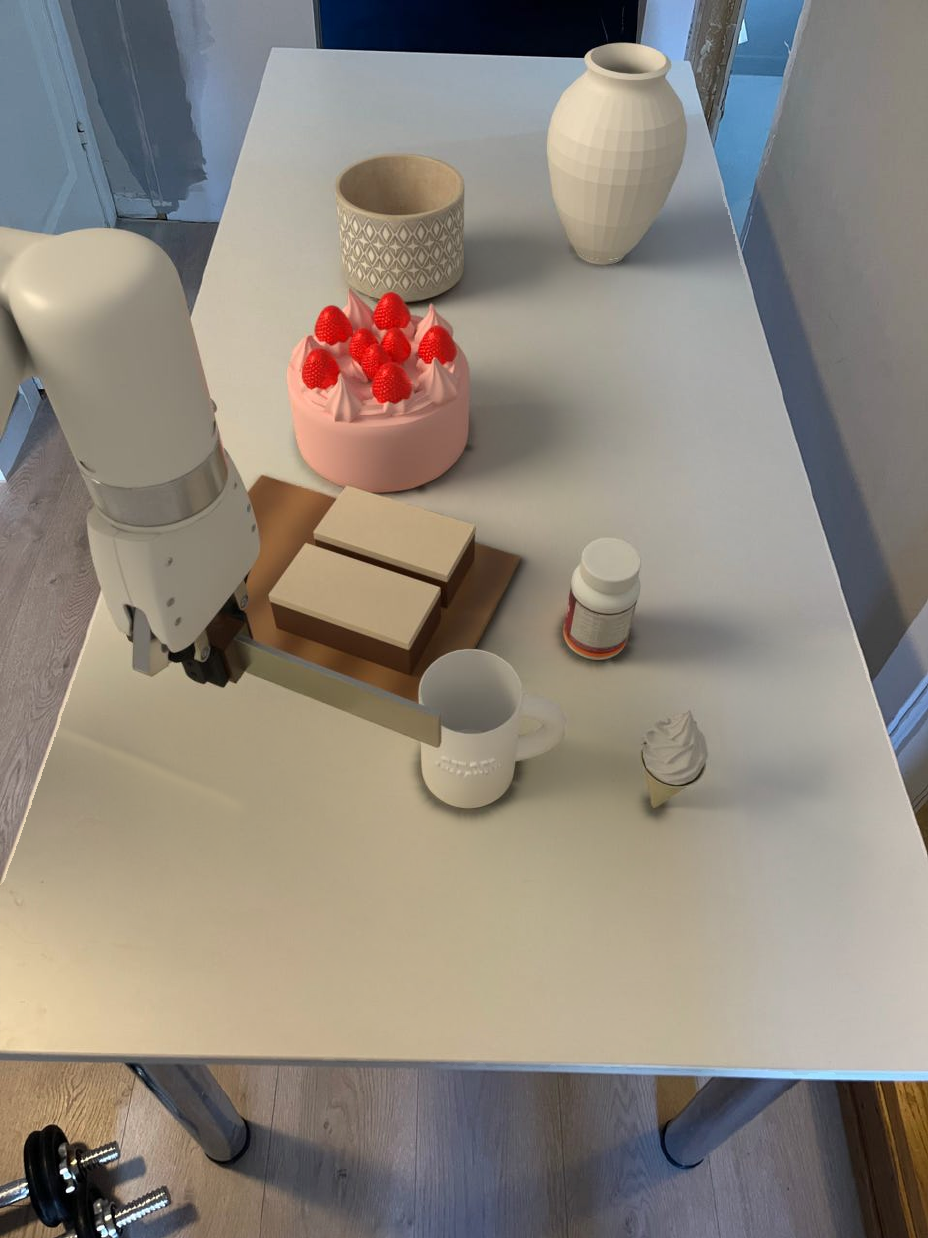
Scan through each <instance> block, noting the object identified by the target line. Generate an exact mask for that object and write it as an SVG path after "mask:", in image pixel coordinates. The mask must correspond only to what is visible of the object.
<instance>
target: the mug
mask: <svg viewBox="0 0 928 1238" xmlns="http://www.w3.org/2000/svg"><path fill="white" fill-rule="evenodd" d="M418 697H419V704H421V705H424V706H426V707H429V708H432V709H434V710H437V711H439V712H441V737H442V742H441V745H440V747H439V748H436V747H433V746H431V745H428V744H426V743H423V742H421V741H420V761H421V763H420V764H421V773H422V777H423V780H424V782H425V783H424V784H425V785H426V786H427V788H428V789H429V791H430V792H431V793H432V794H433V796H435V797H436V798H437V799H439V800H440V801H442V802H443V803H445V804H446V805H447V804H448V805H450V806H452V807H456V808H460V809H461V808H462V809H477V808H481V807H485V806H487V805H490V804H492V803H493V802H495V801H496V800H498V799H500V798H501V797H502V796H503V795H504V794H505V793H506V791H507V790H508V789H509V788H510V786H511V783H512V781H513V779H514V775H515V768H516V762H521V761H526V760H528V759H532V758H535V757H537V756H541V755H542V754H544V753H547V752H548V751H550V750H551V749H553V748H554V747H555V746H556V745H557V744H559V742H560V741H561V740H562V738H564V736H565V733H566V730H567V717H566V715H565V713H564V711H563V709H562V708H561V706H559V704H557V703H556V702H554V701H553V700H552V699H549V698H547V697H544V696H542V695H539V694H535V693H529V692H524V688H523V684H522V680H521V679H520V676H519V675H518V673H517V672H516V670H515V669H514V667H512V665H511V664H510V663H509V662H507V661H506V660H505V659H503V658H502V657H501V656H498V655H497V654H495V653H492V652H490V651H487V650H481V649H478V648H477V649H476V648H475V649H464V650H457V651H454V652H451V653H448V654H446V655H444V656H442V657H440V658H439V659H437V660H436V661H435V662H433V663H432V664H431V665H430V667H429V668H428V669H427V670H426V671H425V673H424V675H423V676H422V678H421V681H420V685H419V692H418ZM522 718H523V719H524V718H525V719H531V720H534V721H535V720H536V721H538V722H541V723H542V725H541V726H540V727H538V728H537V729H536V730H534V731H532V732H530V733H527V734H524V735H521V736H519V735H520V729H521V728H520V727H521V726H520V725H521V719H522Z"/></svg>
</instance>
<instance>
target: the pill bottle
mask: <svg viewBox="0 0 928 1238" xmlns="http://www.w3.org/2000/svg"><path fill="white" fill-rule="evenodd" d="M641 567H642V558H641V555H640V553H639V552H638V549H636V548H635V547H634V546H633V545H632V544H630V543H629V542H628V541H626V540H623V539H620V538H617V537H600V538H597V539H595V540H592V541H590V542H589V543H587V545H586V546H585V547H584V549H583V551H582V553H581V558H580V563H579V565H577V567H576V568H575V569H574V571H573V573H572V577H571V581H570V586H569V587H570V589H569V594H568V600H567V606H566V611H565V616H564V617H565V618H564V624H563V637H564V640H565V642H566V644H567V645H568V647H569V649H571V651H573V652H574V653H575V654H577V655H578V656H580V657H583V658H586V659H589V660H594V661H603V660H608V659H610V658H613V657H615V656H617V655H619V653H620V652H622V650H623V649H624V647H625V646H626V644H627V641H628V638H629V634H630V629H631V626H632V622H633V618H634V615H635V611H636V607H637V605H638V604H637V603H638V601H639V597H640V593H641V579H640V577H639V576H640V570H641Z"/></svg>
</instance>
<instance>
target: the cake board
mask: <svg viewBox="0 0 928 1238" xmlns="http://www.w3.org/2000/svg"><path fill="white" fill-rule="evenodd" d="M247 493H248V496H249V499H250V502H251V505H252V508H253V511H254V515H255V519H256V522H257V527H258V531H259V533H260V535H261V539H260V553H259V556H258V558H257V560H256V562H255V564H254V565H253V567H252V568H251V571H250V573H249V575H248V579H247V583H246V588H247V591H248V593H249V603H248V605H247V607H246V608H245V609H244V612H245V613H246V614H247V618H248V621H249V625H250V628H251V632H252V635H253V639H254V640H255V641H258V642H260V643H263V644H265V645H268V646H271V647H273V648H276V649H278V650H281V651H284V652H286V653H289V654H291V655H294V656H297V657H299V658H302V659H304V660H307V661H310V662H312V663H315V664H317V665H320V666H323V667H325V668H328V669H330V670H333V671H335V672H338V673H341V674H343V675H346V676H348V677H351V678H354V679H356V680H359V681H361V682H364V683H367V684H369V685H372V686H374V687H377V688H380V689H382V690H385V691H387V692H390V693H393V694H395V695H398V696H400V697H403V698H406V699H408V700H411V701H413V702H416V703H419V697H418V692H419V685H420V681H421V678H422V676H423V675H424V673H425V671H426V670H427V669H428V668H429V667H430V665H431V664H432V663H433V662H435V661H436V660H437V659H439V658H440V657H442V656H444V655H446V654H448V653H451V652H454V651H457V650H464V649H476V648H477V646H478V644H479V642H480V640H481V638H482V637H483V634H484V632H485V630H486V628H487V626H488V625H489V622H490V620H491V619H492V617H493V614H494V612H495V610H496V608H497V607H498V605H499V602H500V601H501V599H502V597H503V594H504V593H505V591H506V589H507V587H508V585H509V583H510V581H511V579H512V577H513V575H514V573H515V571H516V569H517V567H518V565H519V563H520V556H519V555H517V554H514V553H511V552H507V551H505V550H502V549H498V548H496V547H495V548H494V547H492V546H489V545H485V544H483V543H479V542H476V541H475V556H474V561H473V563H472V565H471V567H470V568H469V570H468V572H467V574H466V576H465V578H464V579H463V581H462V583H461V585H460V587H459V589H458V590H457V592H456V594H455V596H454V598H453V599H452V601H451V603H450V605H449V607H448V608H447V609H446V608H443V607H441V621H440V623H439V625H438V627H437V629H436V631H435V632H434V634H433V636H432V638H431V640H430V641H429V643H428V645H427V647H426V649H425V651H424V652H423V654H422V656H421V658H420V660H419V662H418V663H417V665H416V667H415V669H414V671H413V672H412V674H411V676H409V675H406V674H403V673H401V672H398V671H395V670H392V669H389V668H387V667H384V666H381V665H378V664H376V663H373V662H370V661H367V660H364V659H362V658H359V657H356V656H353V655H350V654H348V653H345V652H342V651H339V650H336V649H334V648H331V647H328V646H325V645H322V644H320V643H317V642H314V641H311V640H308V639H306V638H303V637H300V636H297V635H294V634H292V633H289V632H286V631H283V630H280V629H278V628H276V624H275V620H274V616H273V612H272V608H271V604H270V599H269V593H270V592H271V591H272V589H273V588H274V586H275V585H276V584H277V582H278V581H279V579H280V578H281V577H282V575H283V574H284V572H285V571H286V570H287V568H288V567H289V565H290V564H291V563H292V561H293V560H294V558H295V557H296V556H297V554H298V553H299V551H300V550H301V549H302V547H303V546H304V544H305V543H308V544H311V545H314V546H316V544H315V539H314V533H313V532H314V530H315V529H316V527H317V526H318V525H319V523H320V522H321V520H322V519H323V518H324V516H325V515H326V513H327V512H328V511H329V509H330V508H331V506H332V505H333V504H334V502H335V501H336V499H337V498H338V497H333V496H330V495H326V494H324V493H321V492H318V491H314V490H310V489H308V488H305V487H301V486H298V485H295V484H292V483H288V482H285V481H283V480H280V479H276V478H273V477H269V476H266V475H263V474H261V475H260V476H259V478H258V479H257V480H256V481H255V482H254V484H253V485H252V486H251V487H250V489H249V490H248V491H247Z"/></svg>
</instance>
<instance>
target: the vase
mask: <svg viewBox="0 0 928 1238" xmlns="http://www.w3.org/2000/svg"><path fill="white" fill-rule="evenodd" d="M583 61H584V64H585V67H586V71H585V72H584V73H582V74H581V75H580V76H579V77H577V79H575V80H574V82H572V84H570V86H568V87H567V88H566V89H565V90H564V91H563V93H562V94H561V96H560V98H559V100H558V102H557V104H556V105H555V107H554V109H553V112H552V113H551V119H550V122H549V125H548V130H547V140H546V155H547V163H548V172H549V178H550V186H551V192H552V198H553V202H554V205H555V207H556V211H557V214H558V217H559V220H560V222H561V225H562V227H563V230H564V232H565V235H566V237H567V239H568V241H569V243H570V244H571V246H572V247H573V249H574V250H575V253H576V256H577V257H579V258H580V259H581V260H583V261H585V262H587V263H590V264H594V265H600V266H602V265H603V266H605V265H606V266H608V265H614V264H617V263H619V262H620V261H622V260H623V259H624V258H625V256H626V255H627V254H629V253H630V252H631V251H632V250H633V249H634V248H635V247H636V246H637V245H638V244H639V243H640V242H641V240H642V238H643V237H644V236H645V235H646V233H647V232H648V230H649V229H650V227H651V226H652V224H653V223H654V221H655V220H656V219H657V217H658V215H659V214H660V212H661V211H662V209H663V207H664V205H665V204H666V202H667V200H668V197H669V195H670V193H671V190H672V188H673V186H674V184H675V181H676V179H677V176H678V175H679V172H680V170H681V167H682V165H683V163H684V157H685V151H686V146H687V142H688V141H687V139H688V124H687V119H686V113H685V109H684V105H683V101H681V99H680V97H679V96H678V94H677V93H676V91H675V90H674V88H673V86H672V85H671V84H670V82H669V80H668V79H667V78H666V76H667V74H668V73H669V71H670V70H671V68H672V64H673V63H672V61H671V59H670V58H669V56H667V55H666V54H664V53H663V52H661V51H659V50H657V49H655V48H653V47H650V46H648V45H643V44H639V43H632V42H613V43H607V44H604V45H600V46H598V47H597V46H596V47H595V48H592V49H591V50H589V51H587V53H586V54H585V55H584V57H583ZM577 251H578V252H577ZM583 255H584V256H583ZM586 256H587V257H586ZM622 256H623V257H622ZM588 257H589V258H588ZM619 257H620V258H619ZM591 258H593V259H591ZM615 258H618V259H615ZM596 259H598V260H596ZM609 259H613V260H609Z"/></svg>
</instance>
